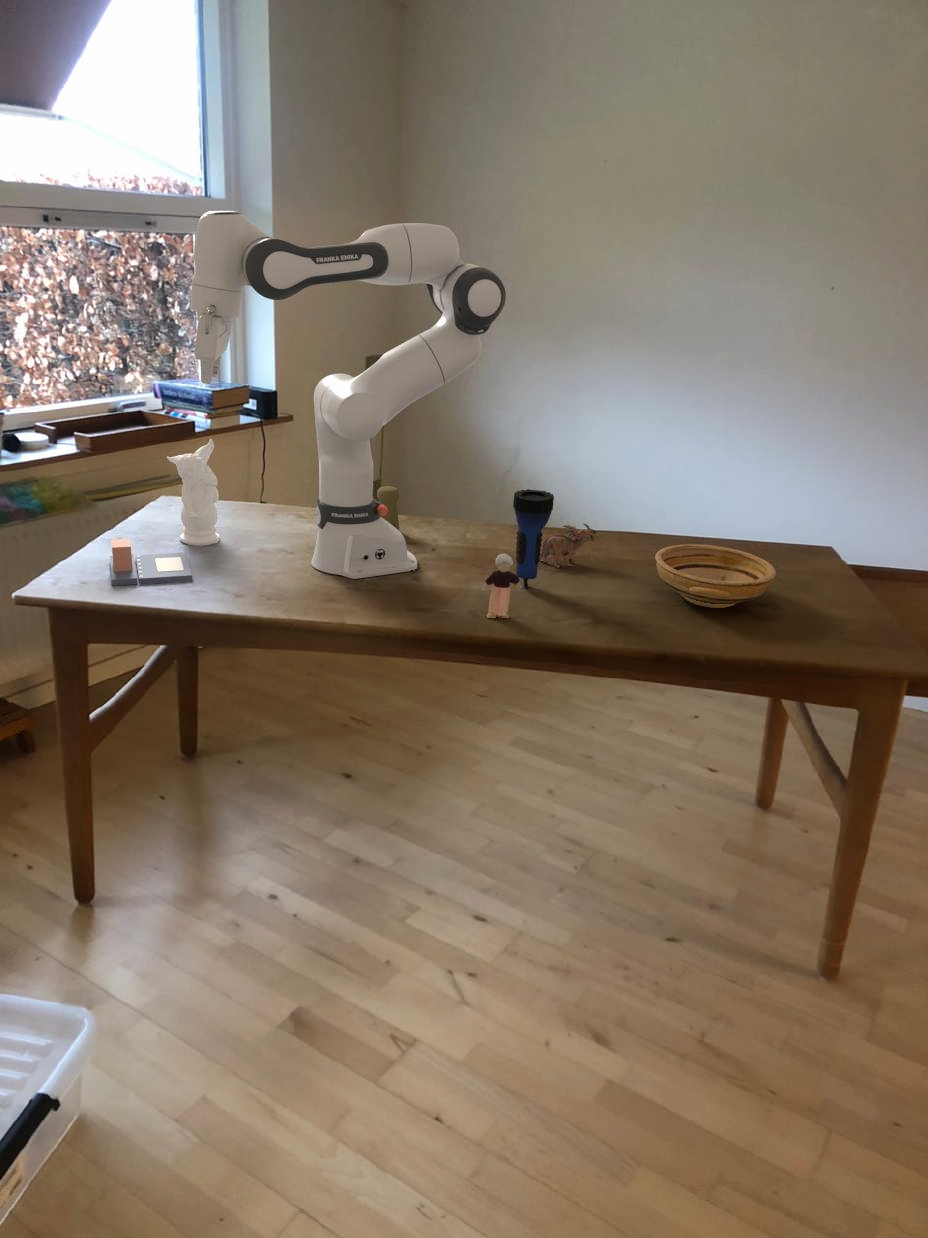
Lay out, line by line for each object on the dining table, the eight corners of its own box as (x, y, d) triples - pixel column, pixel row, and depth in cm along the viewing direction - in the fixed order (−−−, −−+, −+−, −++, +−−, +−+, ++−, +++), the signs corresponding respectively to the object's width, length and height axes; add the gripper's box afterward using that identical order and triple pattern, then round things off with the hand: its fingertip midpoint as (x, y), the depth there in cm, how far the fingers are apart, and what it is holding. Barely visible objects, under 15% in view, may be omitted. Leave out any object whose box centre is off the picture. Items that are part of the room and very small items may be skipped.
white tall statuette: (199, 550, 207) (193, 450, 198) (154, 540, 211) (146, 442, 202) (234, 535, 217) (230, 440, 208) (191, 526, 221) (185, 431, 213)
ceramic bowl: (768, 634, 182) (776, 595, 179) (641, 613, 188) (647, 575, 185) (769, 584, 208) (776, 550, 205) (657, 567, 214) (662, 533, 211)
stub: (133, 560, 198) (131, 531, 196) (137, 583, 186) (134, 553, 184) (110, 561, 196) (107, 532, 194) (112, 585, 184) (109, 555, 182)
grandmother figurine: (485, 622, 179) (490, 558, 174) (477, 614, 182) (482, 551, 177) (522, 618, 182) (528, 555, 177) (513, 610, 185) (519, 548, 180)
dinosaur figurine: (578, 556, 218) (582, 517, 215) (592, 565, 214) (597, 525, 210) (526, 562, 213) (530, 522, 209) (539, 570, 208) (543, 530, 204)
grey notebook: (185, 557, 202) (185, 551, 201) (192, 580, 190) (192, 574, 189) (135, 560, 198) (135, 554, 198) (139, 584, 186) (138, 578, 186)
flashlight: (517, 597, 192) (525, 501, 184) (499, 583, 199) (507, 490, 191) (551, 593, 195) (561, 498, 188) (533, 579, 202) (541, 488, 194)
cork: (395, 537, 223) (397, 491, 219) (371, 534, 224) (372, 488, 220) (402, 530, 228) (404, 485, 224) (378, 527, 229) (379, 482, 225)
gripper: (226, 310, 166) (220, 390, 171) (238, 302, 185) (232, 375, 190) (189, 304, 165) (184, 384, 170) (205, 297, 184) (199, 369, 189)
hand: (209, 379), depth 180 cm, fingers open, 8 cm apart
